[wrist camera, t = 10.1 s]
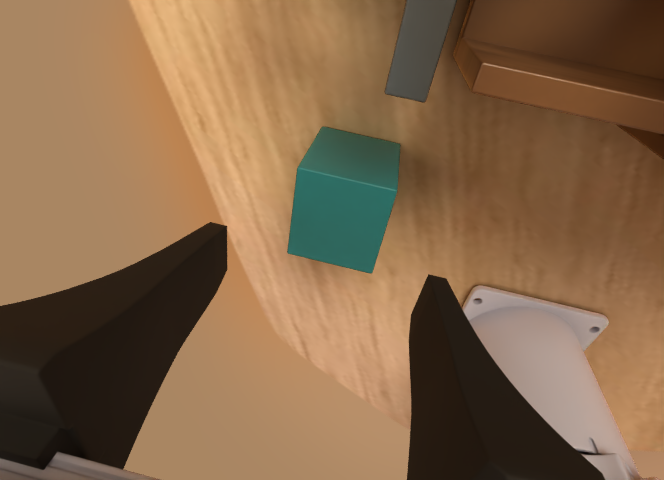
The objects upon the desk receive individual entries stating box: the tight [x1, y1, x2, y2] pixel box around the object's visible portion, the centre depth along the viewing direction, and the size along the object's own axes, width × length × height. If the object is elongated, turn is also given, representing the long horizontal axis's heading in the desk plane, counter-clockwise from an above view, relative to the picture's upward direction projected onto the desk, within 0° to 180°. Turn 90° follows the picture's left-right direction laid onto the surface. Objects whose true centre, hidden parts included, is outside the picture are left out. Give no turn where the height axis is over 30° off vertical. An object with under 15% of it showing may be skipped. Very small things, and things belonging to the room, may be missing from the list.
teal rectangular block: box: [287, 127, 401, 273], centre depth 18 cm, size 4×4×5 cm
